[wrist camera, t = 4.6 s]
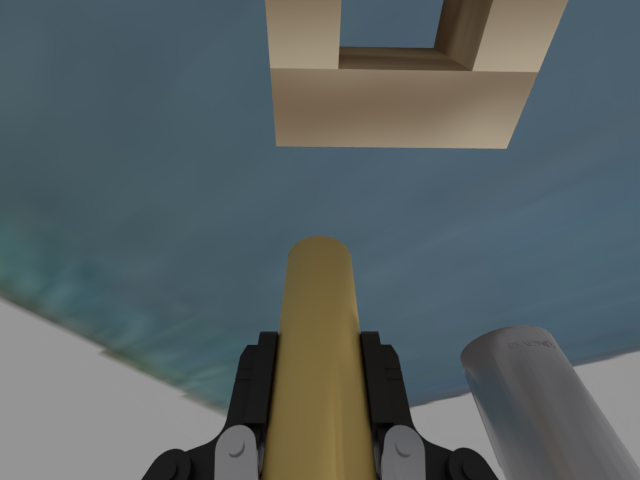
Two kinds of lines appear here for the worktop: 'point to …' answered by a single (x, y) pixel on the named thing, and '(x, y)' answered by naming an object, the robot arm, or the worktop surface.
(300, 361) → the peg
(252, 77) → the worktop surface
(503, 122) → the socket mount
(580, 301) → the worktop surface
